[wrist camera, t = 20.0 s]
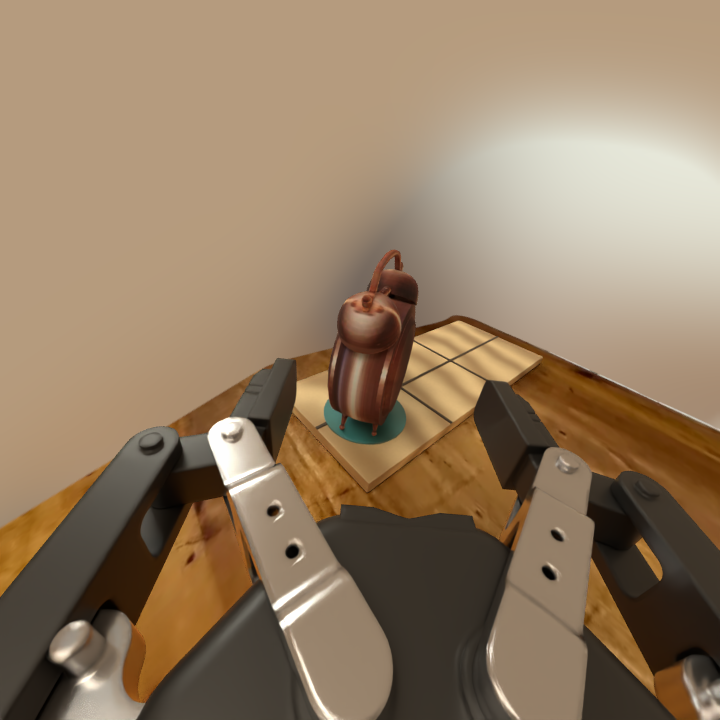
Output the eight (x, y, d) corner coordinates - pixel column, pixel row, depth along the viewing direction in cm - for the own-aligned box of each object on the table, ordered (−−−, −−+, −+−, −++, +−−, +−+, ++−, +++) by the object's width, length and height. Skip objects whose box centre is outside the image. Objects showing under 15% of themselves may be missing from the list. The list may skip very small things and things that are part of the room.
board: (367, 493, 23) (369, 482, 22) (278, 397, 32) (277, 387, 31) (539, 363, 43) (543, 355, 43) (457, 326, 52) (459, 319, 51)
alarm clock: (363, 376, 34) (380, 236, 26) (404, 388, 33) (436, 245, 25) (319, 443, 25) (326, 261, 17) (374, 463, 24) (408, 277, 16)
